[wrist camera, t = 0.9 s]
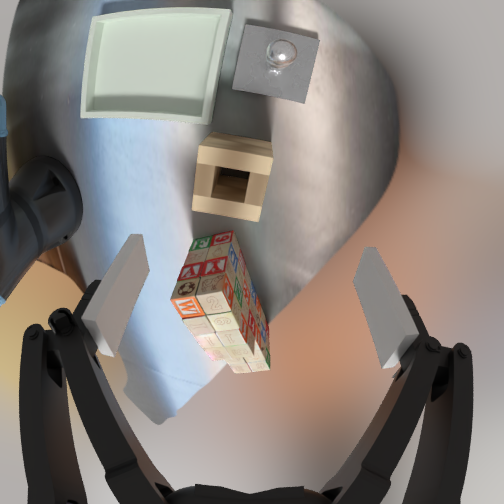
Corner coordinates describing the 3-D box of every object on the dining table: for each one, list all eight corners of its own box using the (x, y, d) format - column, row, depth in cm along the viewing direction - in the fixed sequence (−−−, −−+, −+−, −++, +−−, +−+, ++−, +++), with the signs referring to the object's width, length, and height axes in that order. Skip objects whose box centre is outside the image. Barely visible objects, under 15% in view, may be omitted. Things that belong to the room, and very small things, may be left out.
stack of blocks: (270, 327, 49) (270, 386, 39) (237, 332, 50) (232, 389, 40) (233, 228, 37) (222, 292, 27) (191, 238, 38) (168, 300, 28)
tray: (91, 114, 27) (80, 118, 25) (102, 19, 20) (92, 16, 18) (211, 121, 29) (207, 125, 27) (233, 14, 21) (230, 9, 19)
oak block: (204, 185, 33) (191, 210, 28) (212, 131, 29) (198, 145, 24) (259, 194, 34) (258, 222, 28) (271, 142, 30) (273, 158, 24)
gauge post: (232, 88, 26) (214, 92, 16) (246, 26, 22) (235, -6, 12) (303, 103, 27) (326, 115, 17) (318, 41, 22) (350, 20, 12)
